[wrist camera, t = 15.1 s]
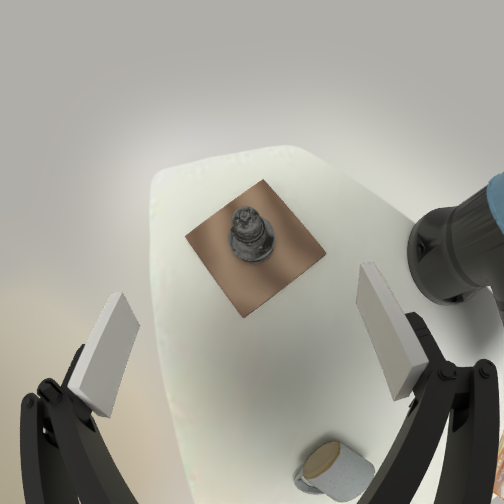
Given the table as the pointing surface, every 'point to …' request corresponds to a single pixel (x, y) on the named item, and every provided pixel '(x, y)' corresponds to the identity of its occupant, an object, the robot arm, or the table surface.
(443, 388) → the robot arm
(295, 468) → the table surface
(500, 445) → the coffeecake box
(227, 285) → the walnut board
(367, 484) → the ceramic mug
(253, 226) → the weathered metal finial
